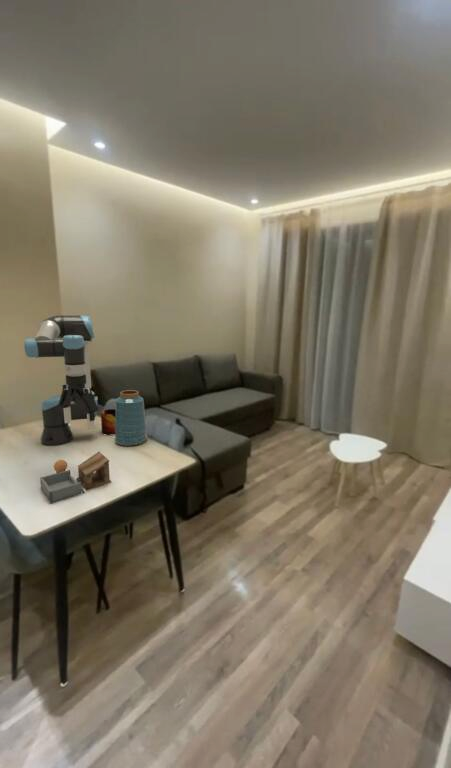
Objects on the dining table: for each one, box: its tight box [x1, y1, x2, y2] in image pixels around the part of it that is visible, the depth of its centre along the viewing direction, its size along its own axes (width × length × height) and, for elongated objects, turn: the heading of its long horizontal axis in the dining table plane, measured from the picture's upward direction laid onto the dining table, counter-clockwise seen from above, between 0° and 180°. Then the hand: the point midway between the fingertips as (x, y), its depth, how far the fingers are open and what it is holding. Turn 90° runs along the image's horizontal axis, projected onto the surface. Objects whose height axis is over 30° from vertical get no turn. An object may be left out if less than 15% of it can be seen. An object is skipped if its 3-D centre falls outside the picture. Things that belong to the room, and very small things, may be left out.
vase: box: [114, 389, 148, 447], centre depth 179 cm, size 16×16×27 cm
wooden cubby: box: [76, 451, 112, 491], centre depth 138 cm, size 11×10×10 cm
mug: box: [100, 408, 116, 436], centre depth 194 cm, size 10×14×12 cm
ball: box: [53, 459, 68, 472], centre depth 141 cm, size 5×5×5 cm
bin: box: [39, 469, 83, 504], centre depth 131 cm, size 14×11×4 cm
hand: (79, 425), depth 141 cm, fingers open, 13 cm apart
